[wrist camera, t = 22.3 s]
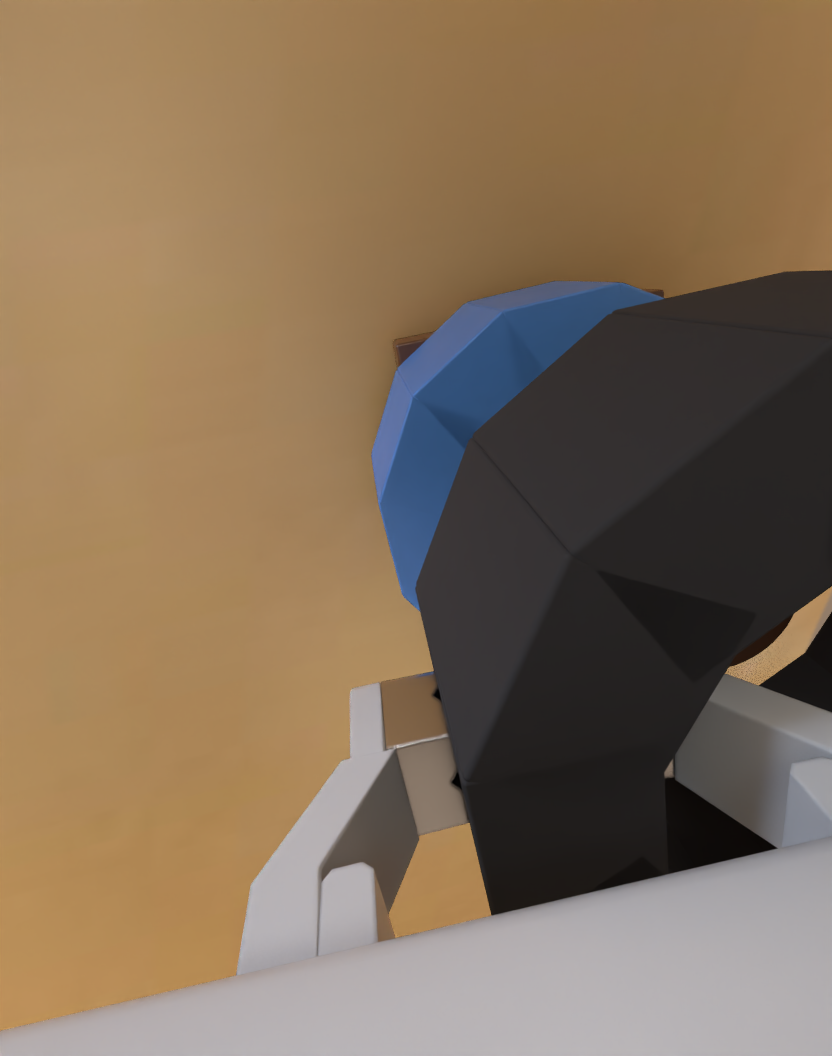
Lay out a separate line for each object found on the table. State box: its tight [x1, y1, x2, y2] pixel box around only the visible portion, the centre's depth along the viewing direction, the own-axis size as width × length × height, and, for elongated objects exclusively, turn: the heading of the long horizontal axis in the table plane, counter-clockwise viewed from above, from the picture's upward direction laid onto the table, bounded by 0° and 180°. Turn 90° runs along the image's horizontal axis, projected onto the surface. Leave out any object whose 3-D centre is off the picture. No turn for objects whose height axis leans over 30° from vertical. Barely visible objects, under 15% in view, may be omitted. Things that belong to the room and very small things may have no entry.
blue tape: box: [371, 281, 665, 611], centre depth 19 cm, size 11×11×5 cm
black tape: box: [415, 271, 832, 915], centre depth 10 cm, size 11×11×5 cm
